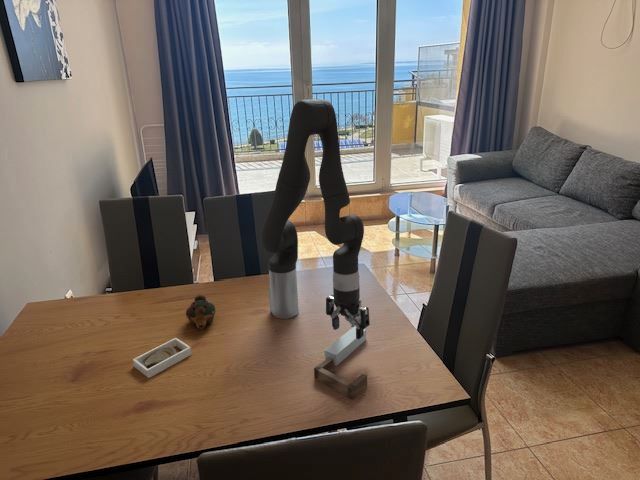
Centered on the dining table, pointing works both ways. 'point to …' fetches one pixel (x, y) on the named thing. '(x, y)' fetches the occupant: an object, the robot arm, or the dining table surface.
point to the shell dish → (166, 363)
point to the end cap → (339, 379)
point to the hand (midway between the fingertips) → (347, 333)
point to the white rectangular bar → (344, 346)
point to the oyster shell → (159, 355)
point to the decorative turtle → (200, 311)
